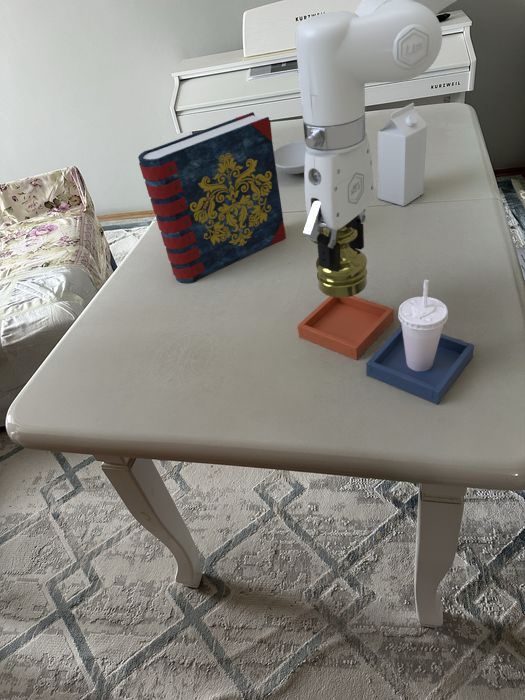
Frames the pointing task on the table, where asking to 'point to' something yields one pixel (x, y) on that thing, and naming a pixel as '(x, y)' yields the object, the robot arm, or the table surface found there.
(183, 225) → the book
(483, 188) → the table surface
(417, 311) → the smoothie
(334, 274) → the brass weight
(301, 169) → the dish
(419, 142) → the milk carton
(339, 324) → the terracotta tray
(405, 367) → the blue tray
